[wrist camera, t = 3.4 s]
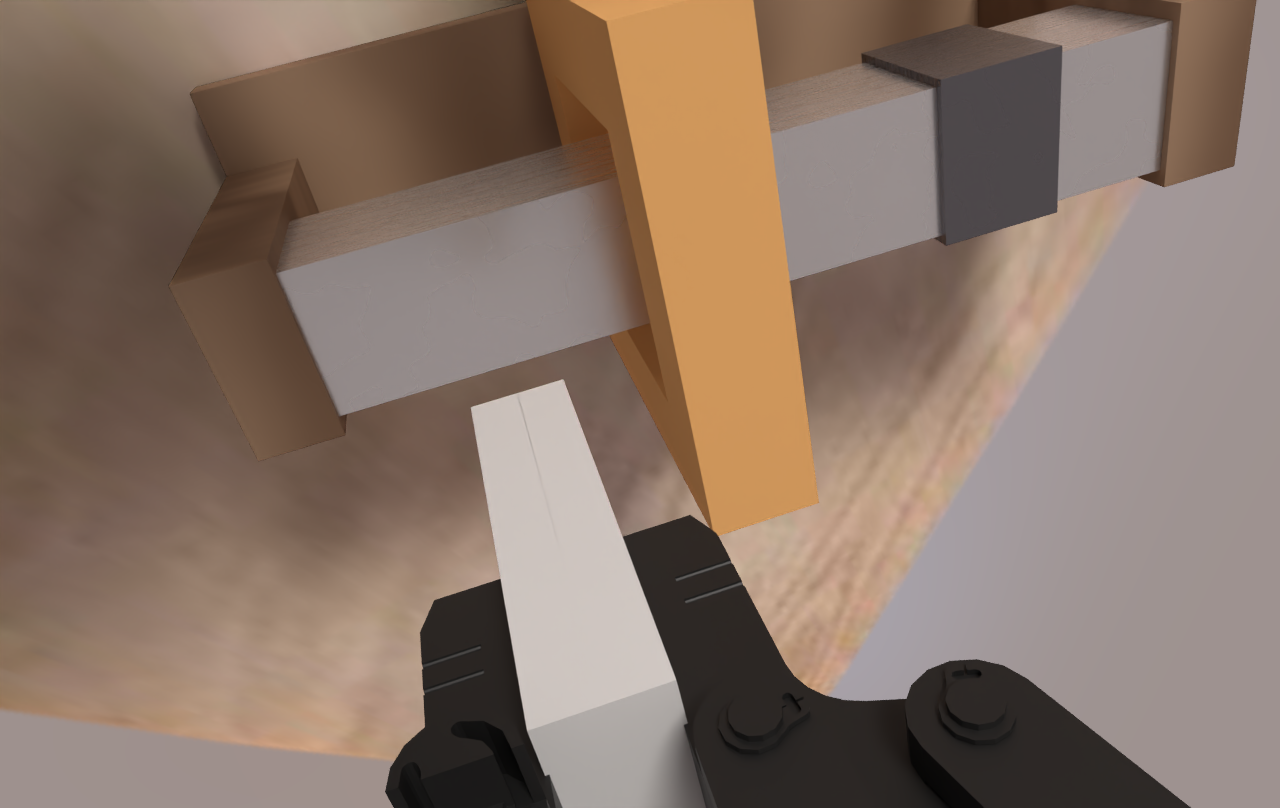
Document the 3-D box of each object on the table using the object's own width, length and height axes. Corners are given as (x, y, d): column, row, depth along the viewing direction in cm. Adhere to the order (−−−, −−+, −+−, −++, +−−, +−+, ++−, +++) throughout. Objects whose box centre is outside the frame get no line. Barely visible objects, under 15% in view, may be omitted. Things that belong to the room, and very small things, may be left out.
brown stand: (319, 366, 30) (298, 538, 22) (195, 87, 26) (112, 176, 18) (1015, 161, 33) (1223, 249, 25) (1018, -126, 28) (1273, -132, 20)
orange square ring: (609, 336, 30) (714, 537, 21) (518, -29, 24) (606, 21, 15) (682, 314, 30) (819, 502, 21) (609, -52, 25) (750, -17, 15)
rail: (328, 359, 24) (320, 434, 21) (266, 216, 22) (246, 274, 19) (1080, 138, 27) (1182, 174, 23) (1086, -9, 25) (1200, 7, 21)
